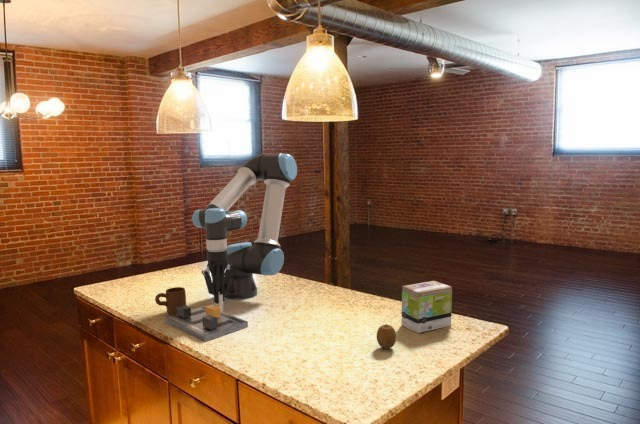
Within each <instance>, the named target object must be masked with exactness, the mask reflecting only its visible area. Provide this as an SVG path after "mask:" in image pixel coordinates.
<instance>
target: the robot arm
mask: <svg viewBox="0 0 640 424" xmlns="http://www.w3.org/2000/svg"><path fill="white" fill-rule="evenodd" d="M236 173H237V174H236V175H235V176H234V177H233V178H232V179H231V180H230V181H229V182H228V183H227V184H226V185H225V186H224V187H223V188H222V189H221V190H220V192H219V193H218V194H217V195H216V196H215V197H214V198H213V199H212V200H211V202H209V203H208V204H207V205H206V206H205V208H200V209H196V210H195V211H194V212H193V214H192V219H191V220H192V224H193V225H194V227H196V228H200V229H204V230H205V240H206V250H207V251H206V261H207V264H206V268H205V269H204V270H201V274H202V275H203V277H204V281H205V285H206V288H207V292H208V294H210V295H213V304H215V306H217V307H220V312H224V302H225V298H226V299H228V300H229V299H231V300H244V299H250V298H252V297H255V296H257V294H258V287H257V284H256V282H255V279H254V275H262V276H275V275H277V274H278V273H279V272H280V271H281V269H282V267H283V265H284V261H285V256H284V252H283V250H282V249H281V244H280V243H279V234H280V229H281V228H280V227H281V223H282V222H281V220H282V216H283V215H282V213H283V209H284V204H285V203H284V202H285V195H286V189H287V188H288V187H290V184H291V181H294V180H295V179H296V177H297V174H298V166H297V162H296V160H295V158H294V156H293V155H291V154H288V153H282V152H280V153H261V154H257V155H255V156H253V157H252V158H250V159H248V160H247V161H246V162H244V163H243V164H242V165H241V166H240V167H239V168H238V170H237V172H236ZM258 181H263V183H264V184H265V186H266V187H265V188H266V189H265V194H264V200H263V205H262V212H261V218H260V224H259V230H258V235H257V239H256V240H254V242H253V244H252V242H249V241H248V242H247V241H246V242H237V243H233V244H228V241H227V237H228V235H227V232H232V231H239V230H241V229H243V228H245V227H246V226H247V223H248V216H247V214H246V212H245V211H243V210H241V209H238V210H237V209H234V210H230V209H231V208H232V206H233V205H235V203H236V202H237V201H238V200H239V199H240V198H241V196H242V195H243V194H244V193H245V192H246V190H248V189H249V188H250V186H254V185H255V184H256V183H257V182H258Z"/></svg>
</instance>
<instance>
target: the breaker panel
mask: <svg viewBox="0 0 640 424" xmlns="http://www.w3.org/2000/svg"><path fill="white" fill-rule="evenodd" d="M206 306H207V305H202V306H199V307H197V308H193V309H191V308H192V307H191V306H189V305H187V304H186V305H184V304H183V305H180V306H177V314H174V315H167V316H164V317H163V320H164V323H165V324H167V325H169V326H171V327H173V328H175V329H178V330H180V331H182V332H184V333H186V334H188V335H190V336H192V337H194V338H196V339H199V340H200V341H202V342H204V343H205V342H208V341H211V340H215V339H216V338H219V337H222V336H225V335H228V334H231V333H234V332H237V331H240V330H243V329H246V328H248V327H249V321H247V320H245V319H242V318H240V317H237V316H234V315H231V314H228V313H226V312H224V311H223V312H220V316H221V317H217V318H216V317H214V316H211V315H207V316H206Z"/></svg>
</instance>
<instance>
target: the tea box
mask: <svg viewBox="0 0 640 424" xmlns="http://www.w3.org/2000/svg"><path fill="white" fill-rule="evenodd" d="M401 287H402V288H401V289H402V290H401V320H400V321H401V325H402V326H403V327H405V328H407V329H409V330H411V331H413V332H414V333H417V334H421V333H423V332H424V333H425V332H427V331H428V332H429V331H431V330H437V329H442V328H447V327H448V328H449V327H451V326H452V314H453V313H452V308H453V307H452V304H453V303H452V302H453V301H452V300H453V287H452V286H451V285H448V284H445V283H442V282H439V281H436V280H430V281H424V282H419V283H413V284H407V285H402V286H401Z"/></svg>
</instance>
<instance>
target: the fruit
mask: <svg viewBox="0 0 640 424" xmlns="http://www.w3.org/2000/svg"><path fill="white" fill-rule="evenodd" d="M376 342H377V343H378V346H380V348H382V349H384V350H388V349H391V348H393V347H394V346H395V344H396V343H397V333H396V330H395V328H394V327H393V326H392V325H391V324H387V323H386V324H382V325H380V326H379V327H378V329H377V332H376Z"/></svg>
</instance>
